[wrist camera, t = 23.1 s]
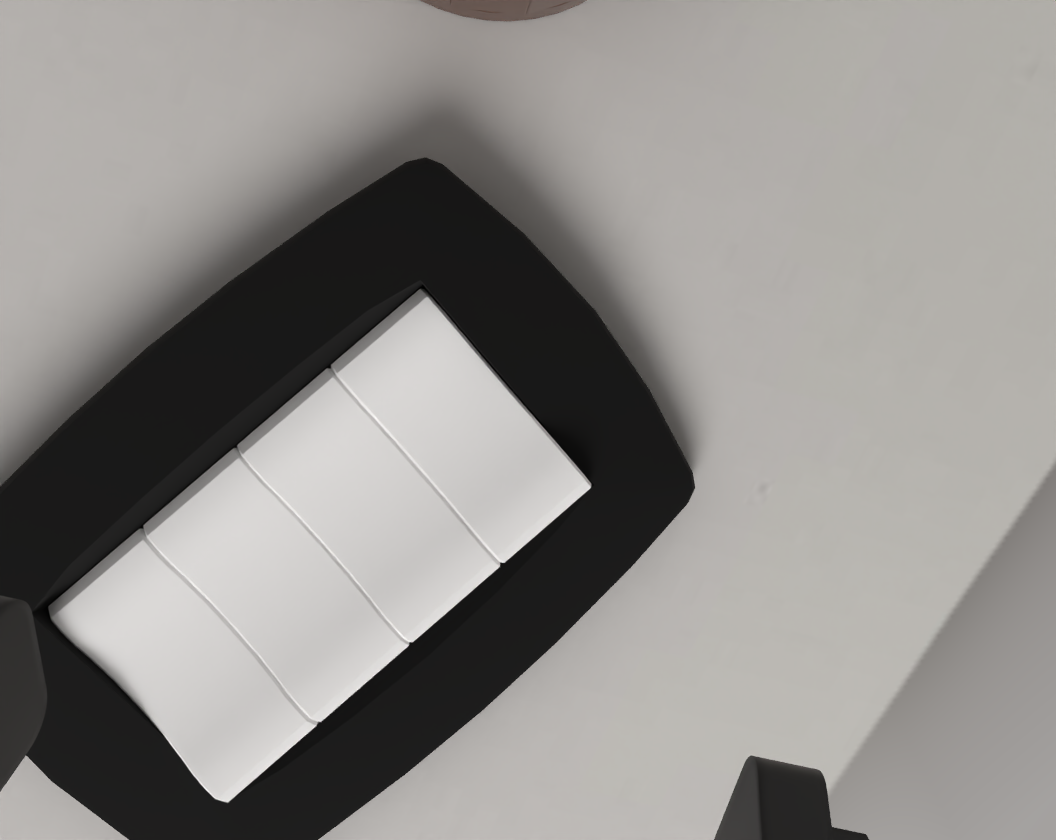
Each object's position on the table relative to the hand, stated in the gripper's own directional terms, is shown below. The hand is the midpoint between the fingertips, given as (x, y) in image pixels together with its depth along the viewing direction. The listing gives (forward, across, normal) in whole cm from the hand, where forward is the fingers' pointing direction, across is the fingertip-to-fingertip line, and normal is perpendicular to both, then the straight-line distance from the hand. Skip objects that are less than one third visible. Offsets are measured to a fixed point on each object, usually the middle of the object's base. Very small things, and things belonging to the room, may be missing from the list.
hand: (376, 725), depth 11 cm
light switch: (+15, +5, +10) cm, 18 cm away
